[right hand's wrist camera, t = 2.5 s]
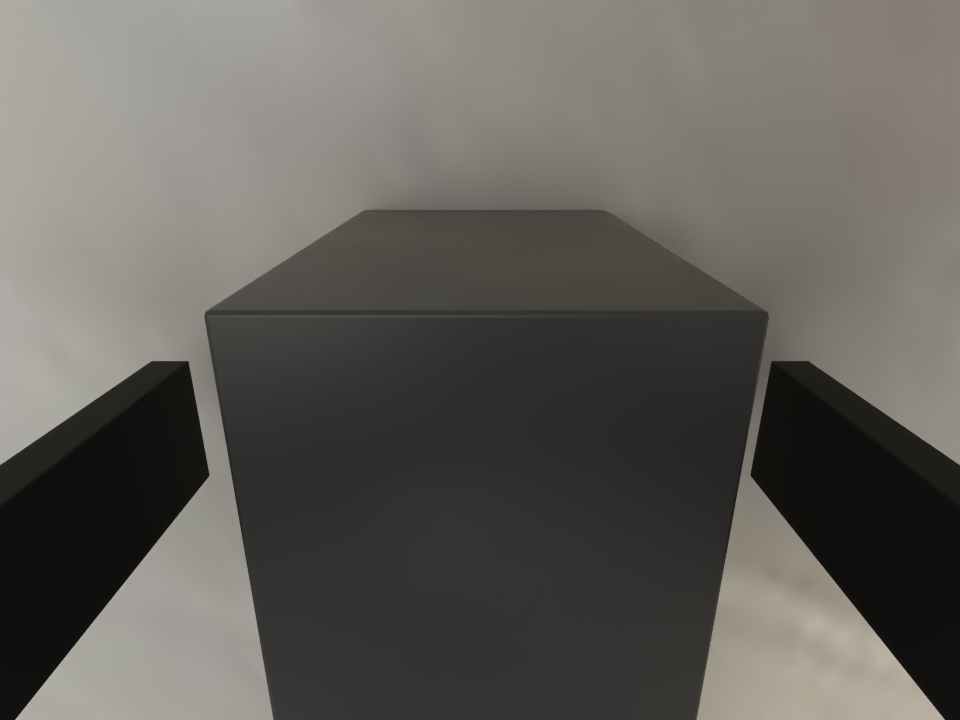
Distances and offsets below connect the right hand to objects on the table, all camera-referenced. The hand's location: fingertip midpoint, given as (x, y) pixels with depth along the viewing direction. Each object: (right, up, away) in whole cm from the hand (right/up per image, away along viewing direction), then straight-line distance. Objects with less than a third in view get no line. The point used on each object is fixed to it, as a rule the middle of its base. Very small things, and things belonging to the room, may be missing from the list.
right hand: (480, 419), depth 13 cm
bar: (0, -8, +5) cm, 10 cm away
